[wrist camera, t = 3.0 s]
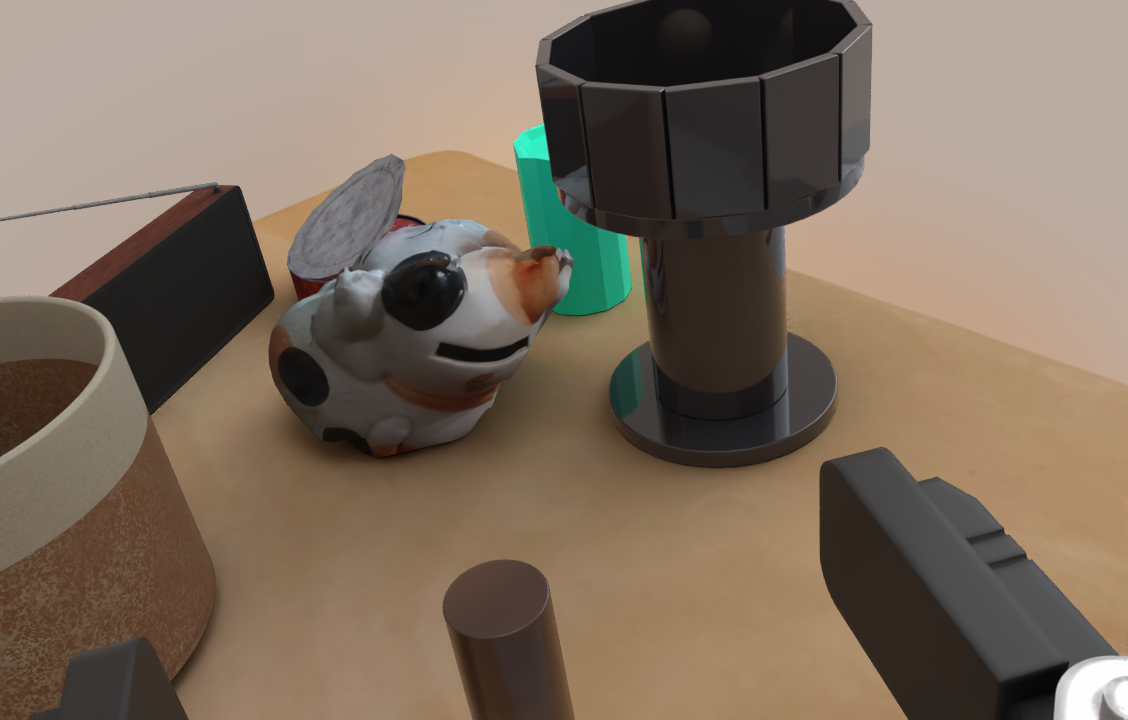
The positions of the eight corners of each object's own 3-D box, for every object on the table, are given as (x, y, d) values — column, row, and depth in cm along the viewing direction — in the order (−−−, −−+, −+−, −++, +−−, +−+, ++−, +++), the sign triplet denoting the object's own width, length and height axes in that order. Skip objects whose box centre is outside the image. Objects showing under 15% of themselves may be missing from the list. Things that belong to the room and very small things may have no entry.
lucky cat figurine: (476, 306, 69) (542, 132, 59) (552, 454, 62) (639, 286, 53) (241, 329, 61) (273, 134, 51) (300, 501, 55) (349, 315, 45)
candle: (542, 273, 71) (513, 100, 65) (631, 265, 71) (611, 89, 64) (535, 319, 66) (504, 137, 60) (631, 310, 66) (610, 125, 59)
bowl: (895, 353, 58) (910, -12, 48) (799, 513, 49) (791, 101, 38) (664, 309, 65) (632, -16, 55) (539, 442, 56) (473, 78, 45)
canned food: (430, 362, 73) (392, 283, 64) (292, 347, 75) (237, 269, 66) (466, 226, 78) (435, 136, 69) (337, 216, 80) (291, 127, 71)
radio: (239, 295, 75) (167, 87, 67) (275, 297, 74) (207, 86, 66) (55, 459, 60) (-64, 220, 52) (98, 464, 59) (-17, 221, 51)
